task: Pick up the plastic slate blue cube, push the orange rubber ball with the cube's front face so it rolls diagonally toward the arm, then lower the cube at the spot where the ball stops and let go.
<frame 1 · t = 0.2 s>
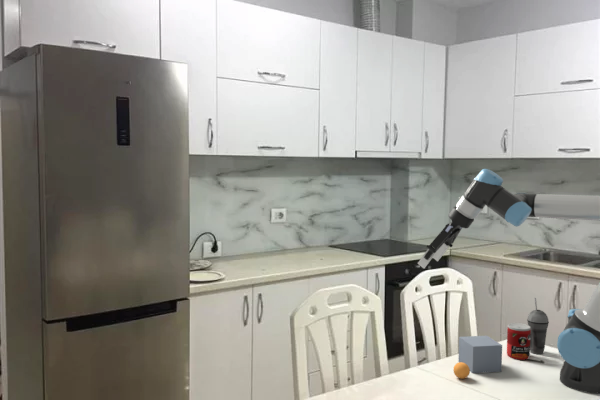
hand: (428, 262, 183), 35 cm above the table, tool tilted 35°, fingers open, 13 cm apart
slate blue cube: (479, 366, 183), on the table
ball: (461, 370, 173), on the table
canned food: (518, 356, 193), on the table
beverage cup: (536, 352, 198), on the table
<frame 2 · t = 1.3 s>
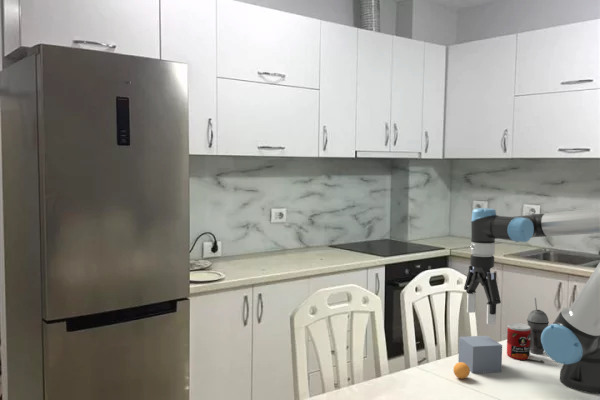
hand: (480, 317, 182), 17 cm above the table, tool pointing down, fingers open, 13 cm apart
nothing on the table moved.
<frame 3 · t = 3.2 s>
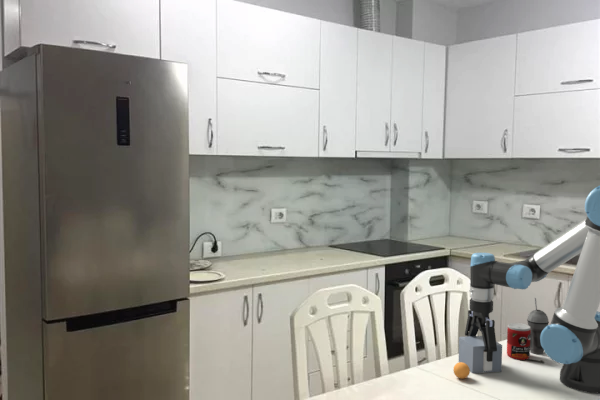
hand: (479, 364, 183), 1 cm above the table, tool pointing down, fingers closed on slate blue cube, 10 cm apart
slate blue cube: (479, 366, 183), on the table, touching gripper
everything else where it was.
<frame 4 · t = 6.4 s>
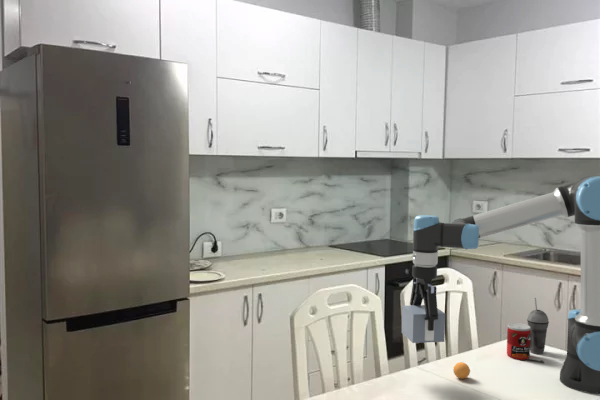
hand: (422, 334, 171), 14 cm above the table, tool pointing down, fingers closed on slate blue cube, 10 cm apart
slate blue cube: (422, 337, 171), point 14 cm above the table, touching gripper
everything else where it was.
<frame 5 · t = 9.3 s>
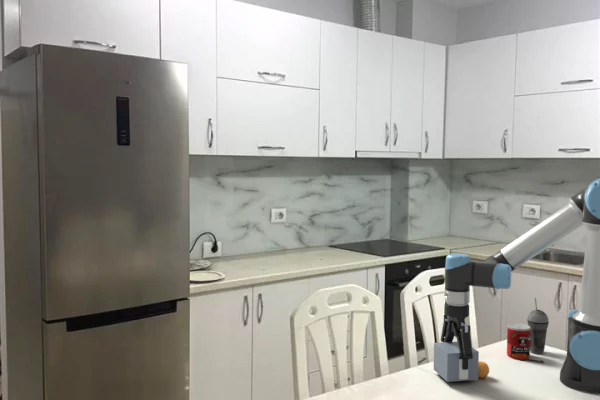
hand: (455, 372, 172), 2 cm above the table, tool pointing down, fingers closed on slate blue cube, 10 cm apart
slate blue cube: (455, 374, 173), point 1 cm above the table, touching gripper
ball: (480, 369, 174), on the table
everything else where it was.
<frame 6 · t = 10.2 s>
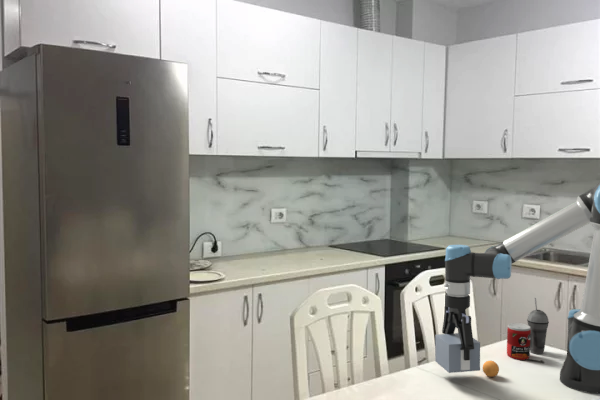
hand: (457, 363, 172), 5 cm above the table, tool pointing down, fingers closed on slate blue cube, 10 cm apart
slate blue cube: (457, 365, 172), point 4 cm above the table, touching gripper
ball: (490, 368, 175), on the table
everything else where it was.
when the fingers open (1 cm above the table, at t = 15.4 s): slate blue cube stays where it is, on the table.
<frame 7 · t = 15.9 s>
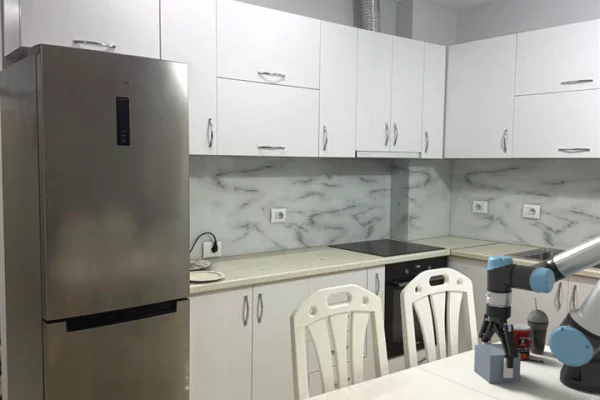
hand: (496, 369, 175), 2 cm above the table, tool pointing down, fingers open, 13 cm apart
slate blue cube: (496, 376, 175), on the table
everything else where it was.
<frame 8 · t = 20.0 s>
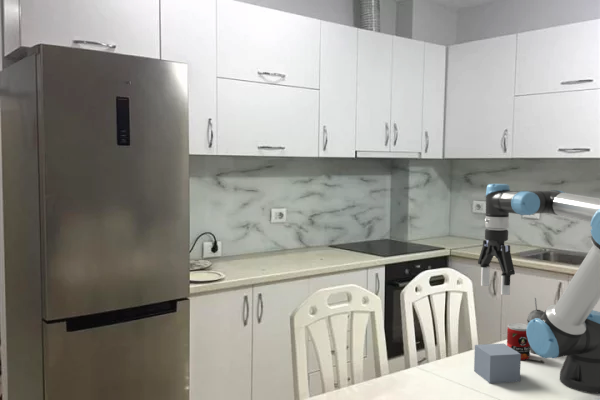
hand: (494, 289, 188), 25 cm above the table, tool pointing down, fingers open, 13 cm apart
nothing on the table moved.
at the end: ball 2.0 cm from the slate blue cube (horizontally); slate blue cube on the table; ball moved 10.0 cm from its start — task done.
